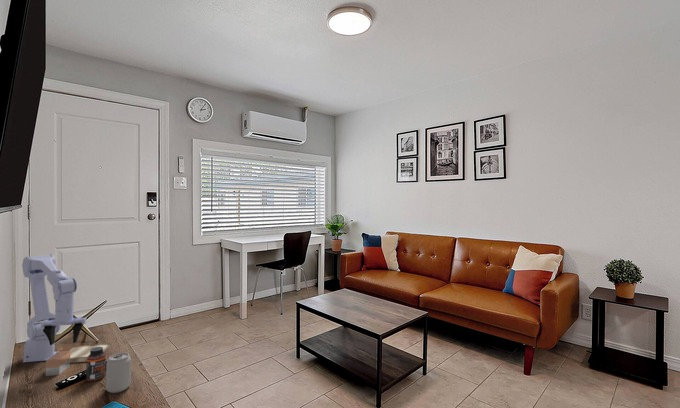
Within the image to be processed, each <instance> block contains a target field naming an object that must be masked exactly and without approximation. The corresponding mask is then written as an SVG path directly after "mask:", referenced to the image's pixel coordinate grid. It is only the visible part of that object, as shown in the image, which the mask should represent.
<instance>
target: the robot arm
mask: <svg viewBox="0 0 680 408" xmlns="http://www.w3.org/2000/svg"><path fill="white" fill-rule="evenodd" d="M21 265H22V266H21V267H22V271H23V276H24V278H27V279H29V285H30V291H31V297H32V298H31V299H32V304H33V311H34V312H33V313H34V315H33V317H31V318H30V319H29V320H28V322H27V323H26V326H27V329H26V334H27V337H28V338H27V339H26V340H25V343H24V345H23V360H22V363H33V362H43V361H45V362H46V360H48V359H49V358H50V357H51V356H53V355H54V354H55V353H57V352H60V351H55V348H56V347H55V345H56V344H55V343H56V341H55V338H56V335H57V334H58V332H60V329H61V326H69V325H71V326H72V325H73V326H72V327H71V328H72V329H71V330H72V333H73V335H72V342H73V343H75V344H76V342H78V338H79V335H80V332H81V330H82V328H83V327H84V325H85V324H87V317H74V294H75V293H76V291H77V288H78V287H77V286H78V284H77V281H76V279H75V278H74V277H72V278H71V277H68V276H67V274H66V273H65V272H64V271H63V270H62V269H57V266H56V257H55V255H54V254H51V253H50V254H41V255H34V256H25V257H24V258H23V259H22V264H21ZM45 277H46V280H47V282H48V283H49V284H50V285H51V286H52V288H51V289H52V293H53V299H54V300H55V301H54V307H55V308H54V309H55V310H54V313H53V312H51V311H50V305H49V298H48V292H47V286H46V281H45Z"/></svg>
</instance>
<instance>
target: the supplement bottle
mask: <svg viewBox="0 0 680 408" xmlns="http://www.w3.org/2000/svg"><path fill="white" fill-rule="evenodd" d="M106 357H107V355H106V352H103V347H95V348H92V349H91V350H90V355H89V356H88V357H87V361H86V377H85V378H86V381H87V382H96V381H100V380H101V379H104V377H106V363H107V360H106V359H107V358H106Z"/></svg>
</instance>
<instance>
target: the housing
mask: <svg viewBox="0 0 680 408" xmlns="http://www.w3.org/2000/svg"><path fill="white" fill-rule="evenodd" d="M70 366H71V363H70V350H63V351H59V352H57V353H55V354H54V355H53V356H51V357H50V358H49V359H48V360H46V361H45V376H46V377H47V376H49V377H50V376H58V375H61V374H62V373H63V372H64V371H66V370H67V369H68V368H69V367H70Z"/></svg>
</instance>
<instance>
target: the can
mask: <svg viewBox="0 0 680 408" xmlns="http://www.w3.org/2000/svg"><path fill="white" fill-rule="evenodd" d="M105 365H106V366H105V369H106V370H105V390H106V391H107V392H109V393H111V394H117V393H121V392H123V391H125V390H127V389H128V388H129V387H130V386H131V384H132V381H131V380H132V379H131V378H132V377H131V376H132V375H131V373H132V372H131V371H132V358H131V356H130V354H129V352H118V353H115V354H112V355H110V356H109V358H108V360H106V364H105Z"/></svg>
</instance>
